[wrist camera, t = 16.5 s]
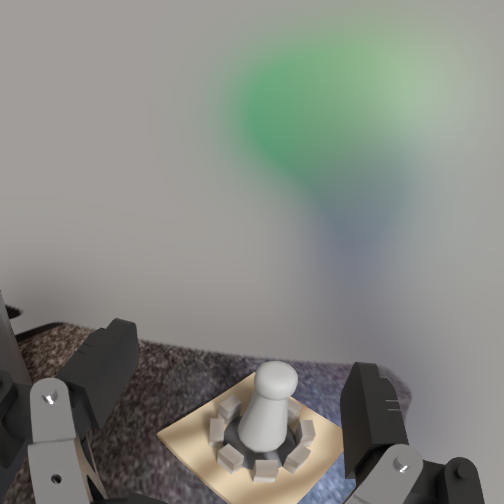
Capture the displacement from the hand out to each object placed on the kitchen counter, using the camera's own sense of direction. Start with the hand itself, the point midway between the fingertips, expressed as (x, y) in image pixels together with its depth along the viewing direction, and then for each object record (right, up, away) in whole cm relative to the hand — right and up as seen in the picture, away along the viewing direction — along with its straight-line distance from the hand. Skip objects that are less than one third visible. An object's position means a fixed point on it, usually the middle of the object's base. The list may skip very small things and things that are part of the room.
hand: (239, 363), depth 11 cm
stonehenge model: (+1, -20, +24) cm, 32 cm away
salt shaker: (+1, -20, +24) cm, 31 cm away
